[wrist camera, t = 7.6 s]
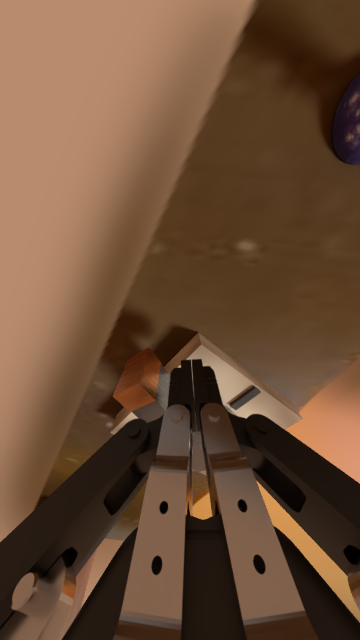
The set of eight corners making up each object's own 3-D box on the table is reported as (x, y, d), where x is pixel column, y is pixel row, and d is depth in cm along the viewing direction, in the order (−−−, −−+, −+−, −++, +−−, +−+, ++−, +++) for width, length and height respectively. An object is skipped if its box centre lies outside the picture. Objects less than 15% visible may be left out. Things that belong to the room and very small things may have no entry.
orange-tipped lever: (250, 435, 17) (268, 482, 14) (192, 456, 19) (195, 502, 15) (178, 330, 12) (178, 363, 9) (104, 369, 14) (80, 412, 10)
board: (204, 457, 23) (207, 478, 21) (116, 414, 19) (109, 435, 17) (290, 401, 19) (304, 421, 17) (198, 332, 15) (201, 346, 13)
